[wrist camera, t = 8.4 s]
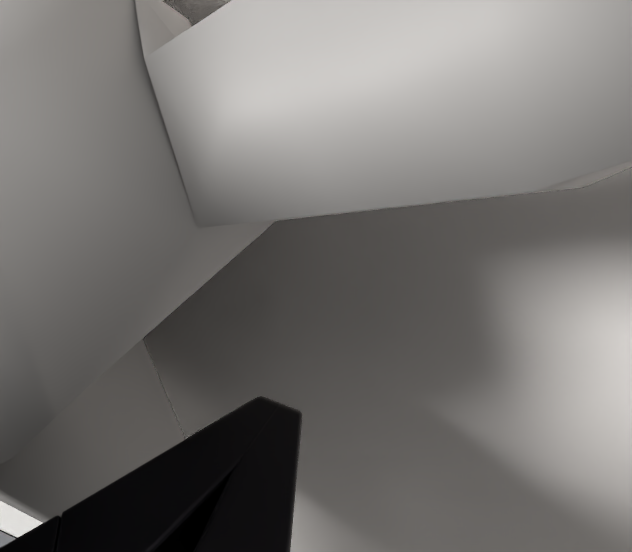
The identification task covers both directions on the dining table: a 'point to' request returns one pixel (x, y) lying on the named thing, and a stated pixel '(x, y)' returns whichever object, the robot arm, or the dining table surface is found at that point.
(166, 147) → the white rounded figure
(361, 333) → the dining table surface
